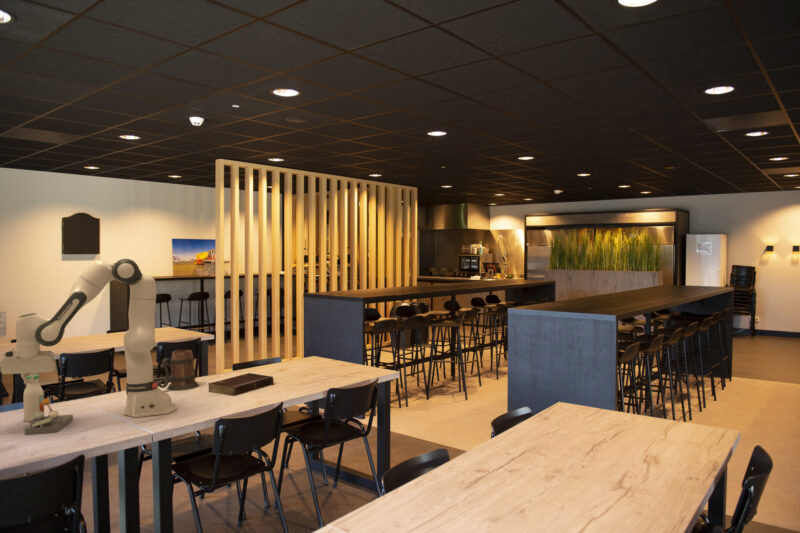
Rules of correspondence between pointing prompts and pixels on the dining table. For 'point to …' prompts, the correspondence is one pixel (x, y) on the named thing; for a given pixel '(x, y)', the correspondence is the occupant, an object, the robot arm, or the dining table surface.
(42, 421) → the rocker sage
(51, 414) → the button cream
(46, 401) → the toggle lever
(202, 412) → the dining table surface
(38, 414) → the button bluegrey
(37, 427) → the panel
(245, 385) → the dark brown flat block
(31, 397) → the milk bottle
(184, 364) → the tankard
